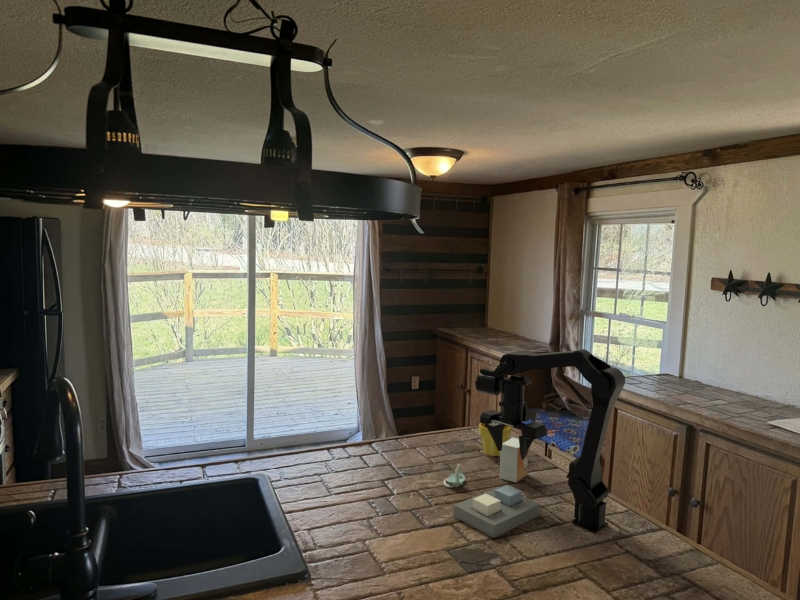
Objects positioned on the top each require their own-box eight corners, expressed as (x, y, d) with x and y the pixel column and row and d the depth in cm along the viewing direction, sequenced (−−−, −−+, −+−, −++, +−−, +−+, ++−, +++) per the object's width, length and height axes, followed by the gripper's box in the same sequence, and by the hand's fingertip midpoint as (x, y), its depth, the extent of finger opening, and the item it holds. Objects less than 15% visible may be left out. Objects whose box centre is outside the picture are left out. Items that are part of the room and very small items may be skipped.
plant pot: (491, 461, 176) (492, 431, 175) (472, 450, 185) (473, 422, 184) (516, 455, 181) (517, 426, 180) (496, 445, 190) (497, 418, 189)
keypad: (539, 515, 140) (540, 504, 140) (493, 537, 129) (493, 525, 128) (500, 497, 150) (500, 486, 150) (453, 516, 139) (453, 505, 138)
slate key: (521, 501, 142) (521, 491, 141) (509, 506, 138) (509, 496, 138) (506, 494, 145) (507, 485, 145) (494, 499, 142) (495, 489, 142)
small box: (516, 483, 159) (517, 448, 158) (498, 478, 163) (500, 443, 162) (527, 474, 166) (529, 440, 165) (510, 470, 169) (512, 436, 168)
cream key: (500, 510, 136) (500, 500, 136) (487, 516, 133) (487, 505, 133) (485, 503, 140) (485, 493, 140) (472, 508, 137) (472, 498, 137)
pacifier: (441, 489, 155) (462, 491, 154) (440, 467, 155) (462, 469, 153) (445, 478, 162) (465, 480, 161) (445, 458, 162) (465, 459, 160)
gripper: (560, 400, 146) (558, 457, 147) (504, 387, 160) (503, 439, 162) (534, 408, 139) (532, 468, 140) (479, 393, 153) (477, 447, 155)
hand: (511, 454), depth 149 cm, fingers open, 8 cm apart
